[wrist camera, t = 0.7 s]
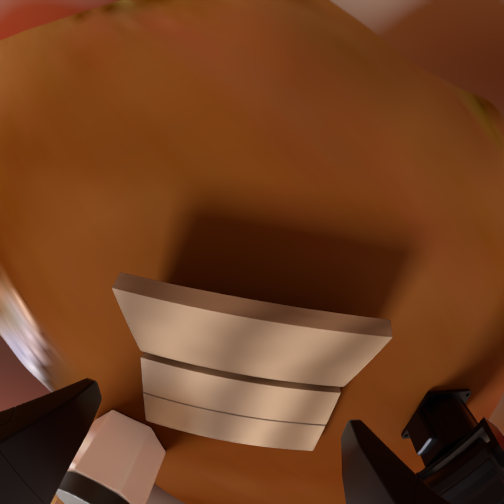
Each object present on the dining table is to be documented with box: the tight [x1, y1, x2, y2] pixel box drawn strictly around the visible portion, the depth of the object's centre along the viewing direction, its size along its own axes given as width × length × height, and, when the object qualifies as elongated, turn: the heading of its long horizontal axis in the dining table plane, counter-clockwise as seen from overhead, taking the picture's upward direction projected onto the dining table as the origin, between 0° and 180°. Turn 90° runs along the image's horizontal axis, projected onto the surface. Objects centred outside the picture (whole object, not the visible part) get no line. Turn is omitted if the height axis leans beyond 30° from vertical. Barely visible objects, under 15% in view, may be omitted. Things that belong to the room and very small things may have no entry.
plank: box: [112, 272, 392, 387], centre depth 18 cm, size 16×8×1 cm, turn 81°
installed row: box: [141, 352, 341, 451], centre depth 22 cm, size 16×9×2 cm, turn 81°
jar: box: [56, 410, 166, 504], centre depth 20 cm, size 9×8×12 cm
